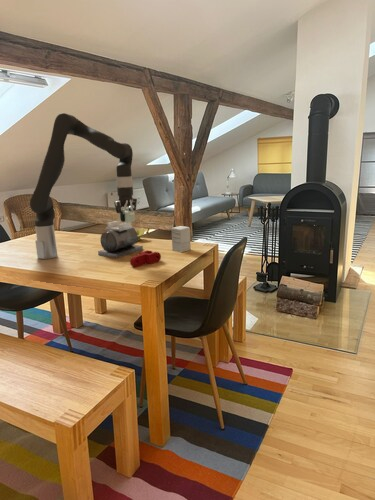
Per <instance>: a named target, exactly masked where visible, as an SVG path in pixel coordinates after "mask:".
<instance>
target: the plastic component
mask: <svg viewBox="0 0 375 500" xmlns="http://www.w3.org/2000/svg"><path fill="white" fill-rule="evenodd" d="M135 230H136V232H137V236H138V239H137V241H140V240H141V238H142V237H143V236H144V235H145V228H144V227H141V228H140V229H135Z"/></svg>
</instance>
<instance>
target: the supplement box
mask: <svg viewBox="0 0 375 500" xmlns="http://www.w3.org/2000/svg"><path fill="white" fill-rule="evenodd" d="M171 245H172V246H171V247H172V251H174V252H179V253H183V252H186V251H190V250H192V249H191V248H192V247H191V228H190V227H189V226H184V225H179V226H178V225H177V226H175V227H171Z"/></svg>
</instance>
